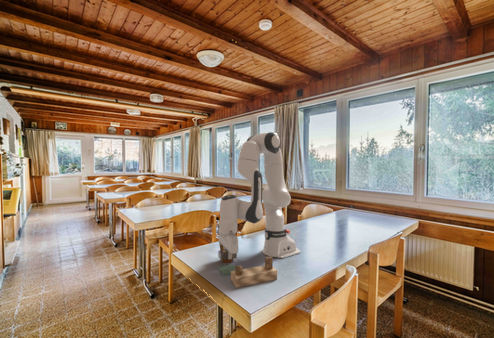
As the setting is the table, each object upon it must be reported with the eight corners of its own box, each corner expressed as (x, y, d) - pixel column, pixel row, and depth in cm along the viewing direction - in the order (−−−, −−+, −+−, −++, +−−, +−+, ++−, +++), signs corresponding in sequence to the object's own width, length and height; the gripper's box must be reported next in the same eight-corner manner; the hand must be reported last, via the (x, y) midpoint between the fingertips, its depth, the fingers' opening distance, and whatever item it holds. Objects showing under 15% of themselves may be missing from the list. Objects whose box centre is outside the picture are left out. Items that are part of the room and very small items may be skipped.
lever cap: (233, 254, 117) (233, 247, 117) (236, 258, 113) (236, 251, 113) (218, 256, 114) (218, 249, 114) (220, 260, 110) (221, 253, 110)
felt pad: (233, 265, 119) (233, 264, 119) (238, 272, 111) (238, 271, 111) (218, 268, 116) (218, 267, 116) (222, 275, 108) (222, 274, 108)
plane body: (269, 272, 112) (269, 254, 112) (277, 279, 105) (277, 259, 105) (229, 280, 104) (229, 260, 104) (234, 287, 97) (235, 266, 97)
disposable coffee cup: (236, 257, 130) (236, 236, 130) (235, 264, 120) (236, 241, 120) (219, 257, 129) (219, 236, 129) (217, 264, 120) (217, 241, 120)
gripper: (242, 233, 105) (241, 263, 105) (228, 223, 124) (227, 248, 124) (228, 235, 102) (228, 265, 103) (216, 224, 121) (216, 250, 121)
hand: (227, 256), depth 113 cm, fingers closed on lever cap, 4 cm apart
